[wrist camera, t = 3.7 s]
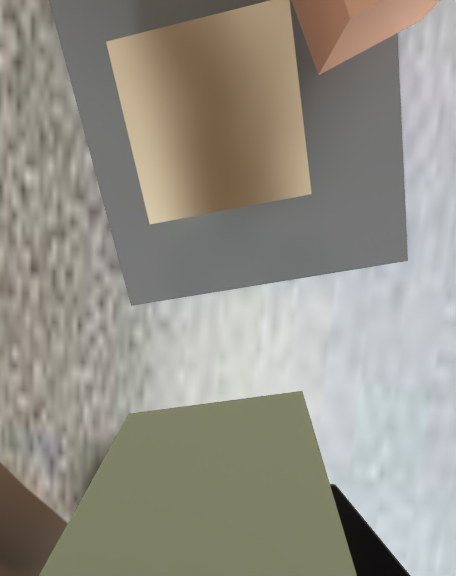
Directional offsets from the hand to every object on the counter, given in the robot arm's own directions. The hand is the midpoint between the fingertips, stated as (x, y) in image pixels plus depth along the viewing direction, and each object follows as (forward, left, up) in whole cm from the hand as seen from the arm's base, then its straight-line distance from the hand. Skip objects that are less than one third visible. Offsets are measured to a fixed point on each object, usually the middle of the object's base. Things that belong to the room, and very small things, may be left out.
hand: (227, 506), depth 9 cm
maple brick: (-1, -11, -11) cm, 16 cm away
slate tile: (-2, -11, -12) cm, 16 cm away
